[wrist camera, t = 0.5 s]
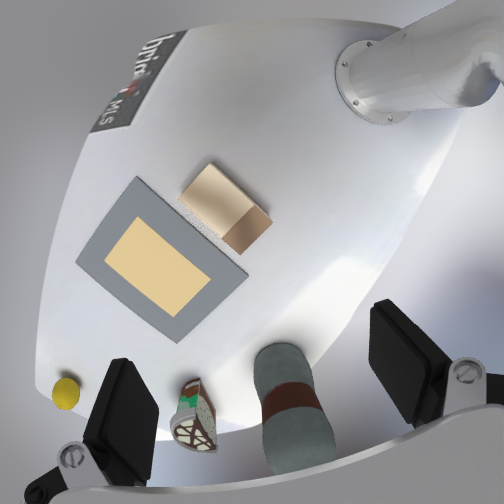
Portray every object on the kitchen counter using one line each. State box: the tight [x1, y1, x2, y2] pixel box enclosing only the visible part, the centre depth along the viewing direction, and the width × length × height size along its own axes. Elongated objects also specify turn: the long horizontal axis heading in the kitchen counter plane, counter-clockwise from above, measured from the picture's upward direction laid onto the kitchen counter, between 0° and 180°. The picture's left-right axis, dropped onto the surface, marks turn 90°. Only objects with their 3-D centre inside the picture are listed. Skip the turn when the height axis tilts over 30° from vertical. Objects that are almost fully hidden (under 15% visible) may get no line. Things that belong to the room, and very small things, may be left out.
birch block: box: [177, 162, 273, 255], centre depth 35 cm, size 6×10×4 cm, turn 46°
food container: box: [170, 378, 218, 454], centre depth 44 cm, size 12×6×10 cm, turn 12°
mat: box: [75, 177, 249, 344], centre depth 39 cm, size 16×20×1 cm
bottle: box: [254, 343, 336, 475], centre depth 33 cm, size 9×9×30 cm
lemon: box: [52, 378, 80, 410], centre depth 42 cm, size 6×6×8 cm
